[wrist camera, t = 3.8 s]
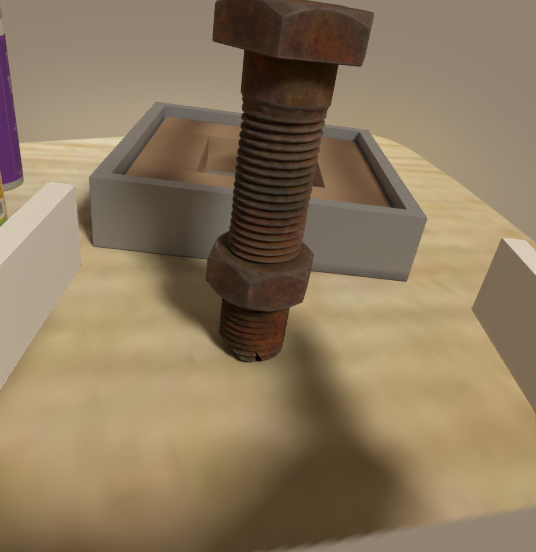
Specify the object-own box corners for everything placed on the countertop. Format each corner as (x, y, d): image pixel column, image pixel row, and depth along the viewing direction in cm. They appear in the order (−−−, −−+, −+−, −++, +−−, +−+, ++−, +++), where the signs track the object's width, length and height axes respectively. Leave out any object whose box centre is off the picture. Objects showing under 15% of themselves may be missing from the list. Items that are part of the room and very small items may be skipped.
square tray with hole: (117, 231, 31) (116, 186, 30) (165, 148, 46) (166, 116, 45) (387, 262, 32) (399, 221, 31) (348, 172, 48) (355, 141, 46)
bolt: (287, 310, 27) (344, 4, 20) (323, 372, 23) (412, 18, 16) (182, 319, 25) (200, -17, 18) (202, 388, 21) (236, -6, 14)
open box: (93, 246, 30) (89, 176, 28) (155, 149, 48) (155, 101, 45) (406, 281, 32) (427, 218, 30) (357, 175, 49) (368, 130, 47)
